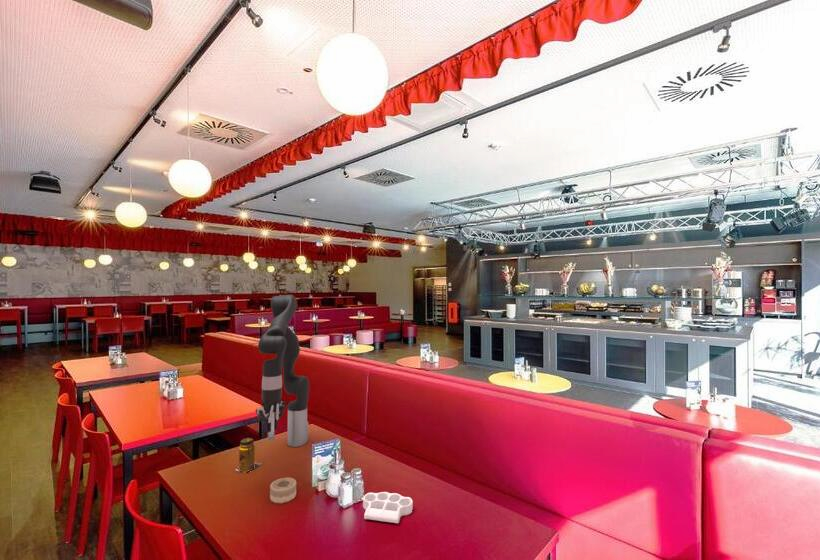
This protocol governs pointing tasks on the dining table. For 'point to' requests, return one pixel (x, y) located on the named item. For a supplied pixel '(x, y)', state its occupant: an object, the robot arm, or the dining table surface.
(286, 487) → the bead
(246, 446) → the condiment
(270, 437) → the white rod
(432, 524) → the dining table surface
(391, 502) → the white compartment tray
